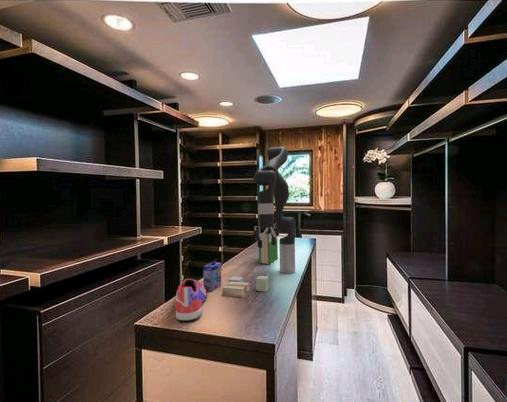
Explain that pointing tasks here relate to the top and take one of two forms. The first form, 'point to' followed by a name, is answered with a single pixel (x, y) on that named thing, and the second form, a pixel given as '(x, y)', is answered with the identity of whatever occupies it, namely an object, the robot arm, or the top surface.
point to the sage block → (262, 283)
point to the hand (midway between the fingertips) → (266, 246)
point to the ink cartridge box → (212, 276)
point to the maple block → (235, 289)
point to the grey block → (236, 279)
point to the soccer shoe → (189, 300)
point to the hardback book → (268, 250)
